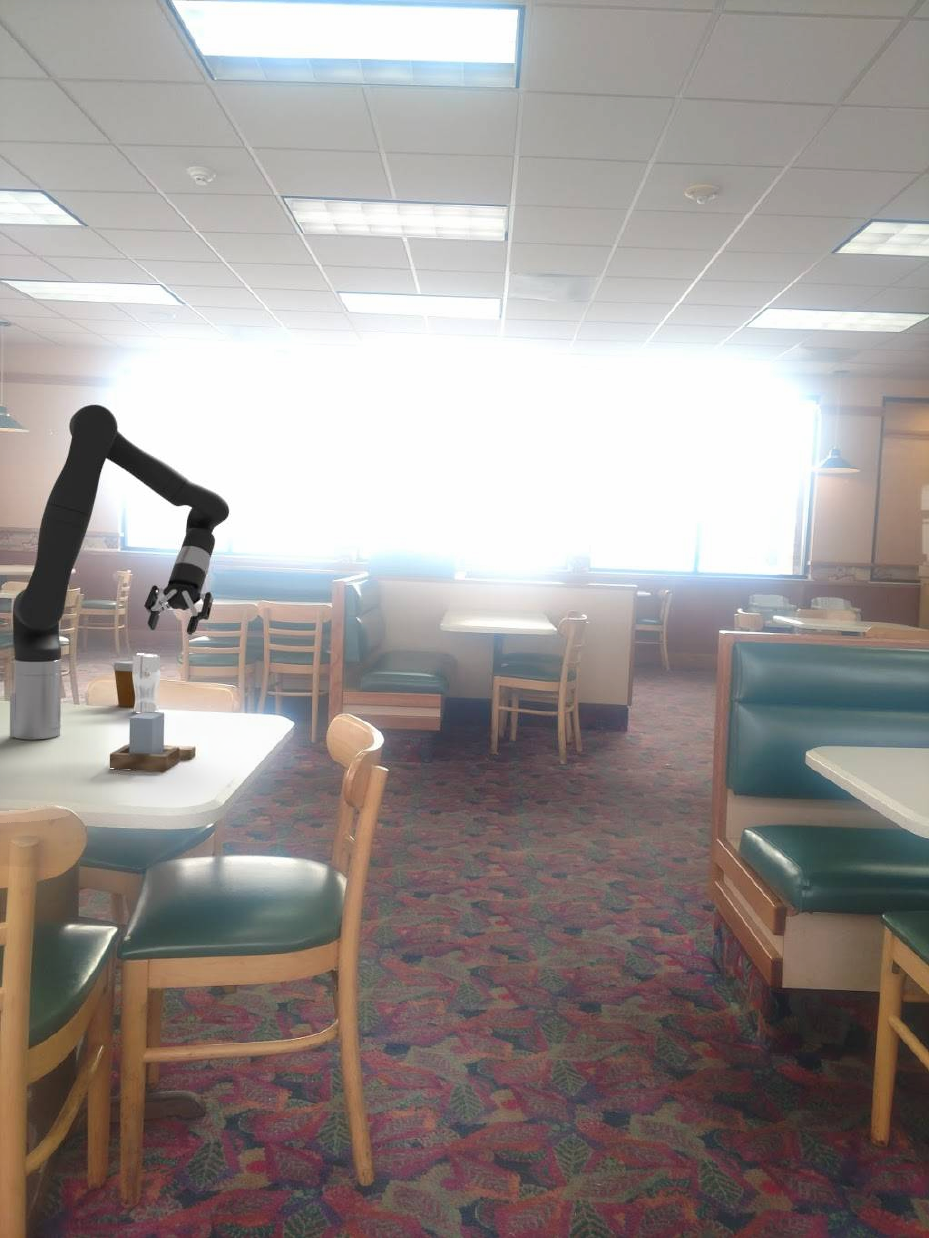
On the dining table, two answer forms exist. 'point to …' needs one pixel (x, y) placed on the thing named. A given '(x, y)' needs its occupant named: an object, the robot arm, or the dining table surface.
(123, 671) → the disposable coffee cup
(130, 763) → the tray
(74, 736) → the dining table surface
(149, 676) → the beer glass
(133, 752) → the pale grey upright block
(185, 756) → the dock step
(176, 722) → the dining table surface
